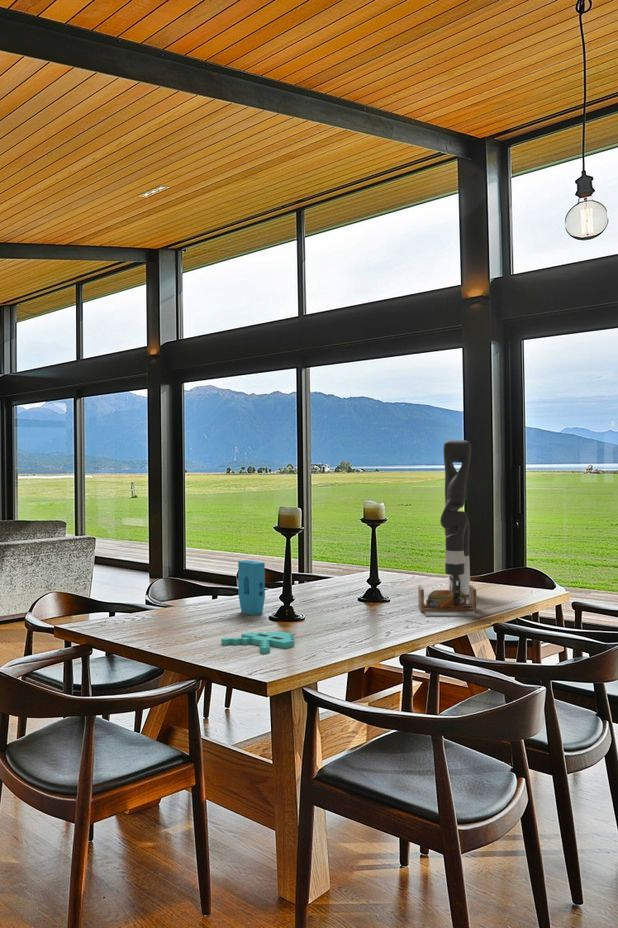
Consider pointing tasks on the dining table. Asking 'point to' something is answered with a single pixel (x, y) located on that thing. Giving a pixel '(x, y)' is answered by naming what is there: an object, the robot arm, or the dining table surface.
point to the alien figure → (263, 640)
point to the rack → (467, 608)
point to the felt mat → (450, 614)
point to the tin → (445, 599)
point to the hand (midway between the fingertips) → (455, 604)
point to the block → (251, 586)
